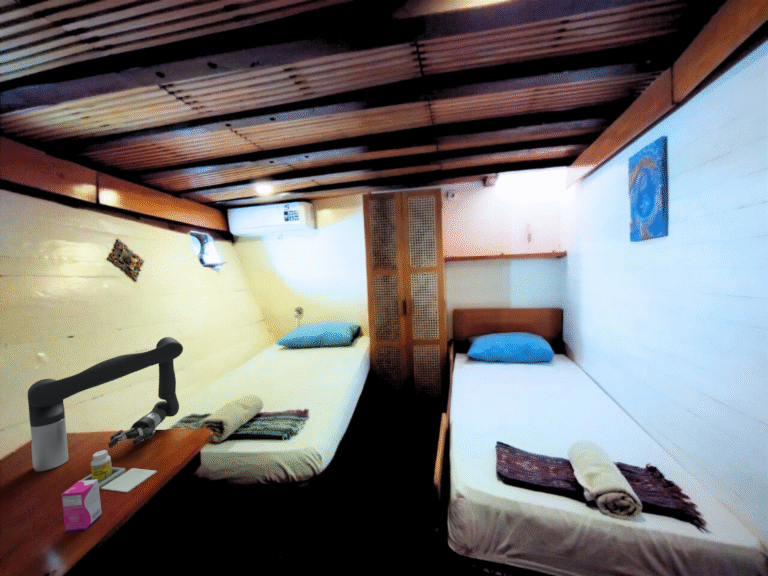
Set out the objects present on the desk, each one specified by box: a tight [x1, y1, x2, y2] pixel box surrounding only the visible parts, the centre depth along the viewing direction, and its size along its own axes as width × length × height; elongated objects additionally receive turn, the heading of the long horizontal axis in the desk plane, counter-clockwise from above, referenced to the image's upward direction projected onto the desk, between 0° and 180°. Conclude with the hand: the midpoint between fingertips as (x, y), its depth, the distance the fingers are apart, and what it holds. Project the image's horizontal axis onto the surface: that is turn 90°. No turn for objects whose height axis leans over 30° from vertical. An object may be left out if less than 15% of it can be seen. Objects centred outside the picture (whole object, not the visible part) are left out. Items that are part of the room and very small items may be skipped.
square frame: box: [79, 466, 126, 489], centre depth 113 cm, size 9×9×2 cm
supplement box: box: [60, 479, 103, 533], centre depth 92 cm, size 6×6×12 cm
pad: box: [100, 467, 158, 494], centre depth 112 cm, size 11×11×1 cm
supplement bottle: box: [90, 449, 113, 482], centre depth 112 cm, size 5×5×10 cm
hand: (121, 444), depth 123 cm, fingers open, 8 cm apart
